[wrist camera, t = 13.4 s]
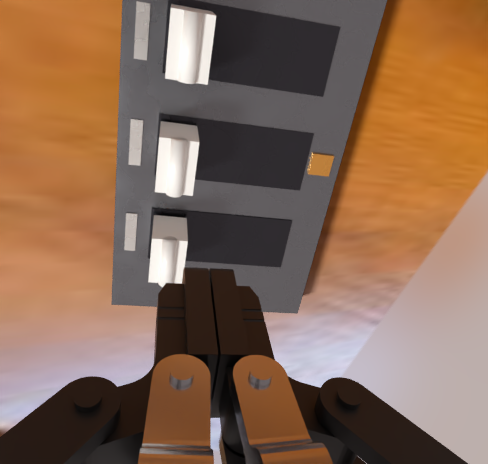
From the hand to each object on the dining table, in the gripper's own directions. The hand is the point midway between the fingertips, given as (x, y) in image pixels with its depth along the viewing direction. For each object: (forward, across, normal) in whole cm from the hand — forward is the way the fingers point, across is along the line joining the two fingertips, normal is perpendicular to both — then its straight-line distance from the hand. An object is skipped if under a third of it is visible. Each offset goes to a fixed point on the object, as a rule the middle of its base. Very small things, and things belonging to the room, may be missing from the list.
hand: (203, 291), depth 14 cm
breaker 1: (+18, +1, +9) cm, 21 cm away
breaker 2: (+19, 0, -5) cm, 19 cm away
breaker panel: (+21, -4, +3) cm, 21 cm away
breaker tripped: (+19, +1, +2) cm, 19 cm away
